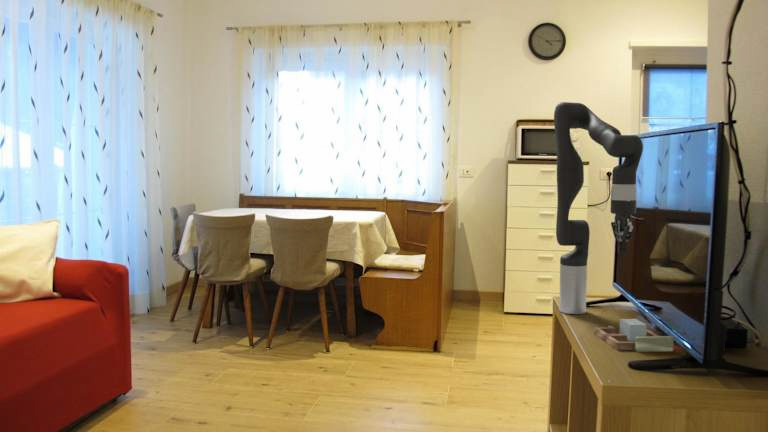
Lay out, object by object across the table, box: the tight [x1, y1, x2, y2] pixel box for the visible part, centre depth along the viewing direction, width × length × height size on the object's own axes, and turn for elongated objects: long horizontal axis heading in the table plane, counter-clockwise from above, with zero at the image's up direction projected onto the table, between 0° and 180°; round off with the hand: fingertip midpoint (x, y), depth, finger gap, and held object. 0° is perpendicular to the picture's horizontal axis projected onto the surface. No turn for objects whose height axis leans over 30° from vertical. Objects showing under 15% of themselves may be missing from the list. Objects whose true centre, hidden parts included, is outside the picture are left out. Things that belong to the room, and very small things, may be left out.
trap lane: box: [594, 325, 674, 353], centre depth 178 cm, size 20×15×4 cm
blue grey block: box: [619, 318, 648, 342], centre depth 182 cm, size 7×5×5 cm
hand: (622, 252), depth 189 cm, fingers closed
